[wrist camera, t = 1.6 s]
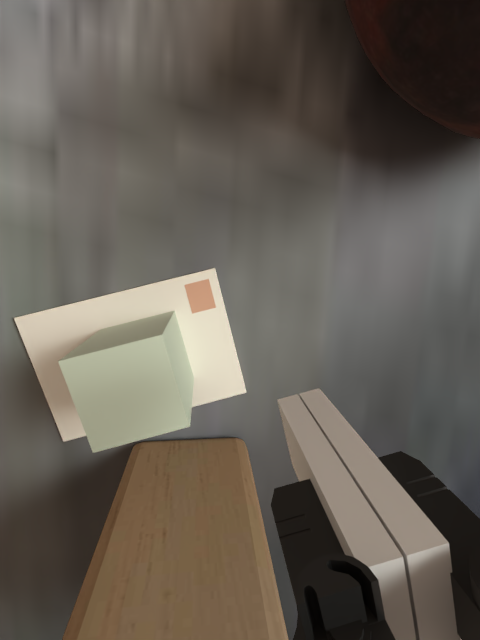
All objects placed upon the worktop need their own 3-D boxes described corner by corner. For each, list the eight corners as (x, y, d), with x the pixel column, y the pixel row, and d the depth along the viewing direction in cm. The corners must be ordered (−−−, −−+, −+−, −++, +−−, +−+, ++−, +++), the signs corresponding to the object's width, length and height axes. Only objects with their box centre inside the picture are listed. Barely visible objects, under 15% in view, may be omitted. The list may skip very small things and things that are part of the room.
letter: (64, 439, 28) (63, 441, 28) (16, 317, 26) (13, 318, 26) (246, 390, 29) (246, 392, 29) (214, 267, 27) (215, 268, 27)
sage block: (124, 396, 28) (93, 452, 20) (101, 329, 27) (57, 361, 19) (194, 378, 28) (189, 426, 20) (174, 310, 27) (162, 334, 19)
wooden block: (137, 535, 31) (24, 1011, 12) (132, 437, 29) (-16, 813, 10) (244, 527, 32) (305, 952, 13) (245, 432, 30) (321, 763, 11)
